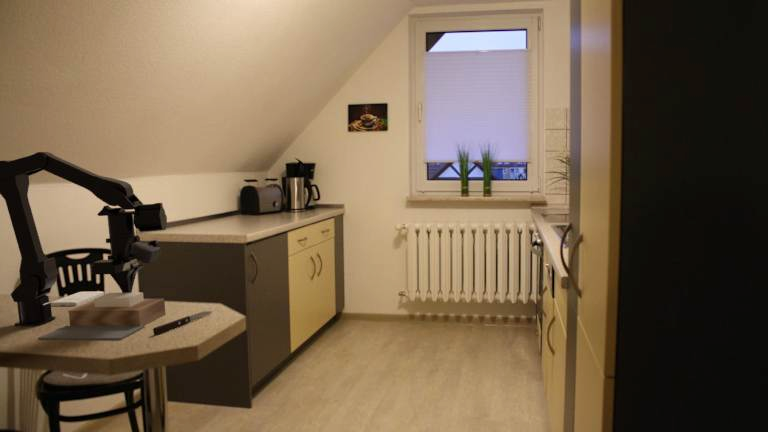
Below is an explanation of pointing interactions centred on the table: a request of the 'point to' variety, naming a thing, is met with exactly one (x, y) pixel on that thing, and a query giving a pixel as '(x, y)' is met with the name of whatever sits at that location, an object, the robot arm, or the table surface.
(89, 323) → the brown wooden block
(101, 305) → the tile
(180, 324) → the kitchen knife
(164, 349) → the table surface
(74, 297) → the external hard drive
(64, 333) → the mat
